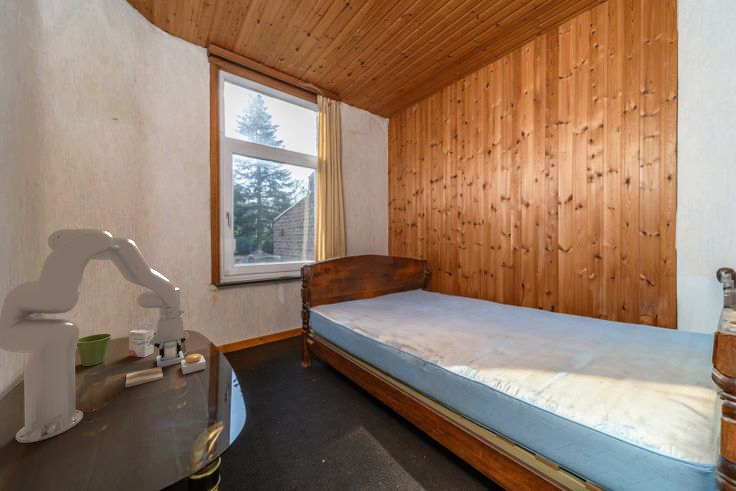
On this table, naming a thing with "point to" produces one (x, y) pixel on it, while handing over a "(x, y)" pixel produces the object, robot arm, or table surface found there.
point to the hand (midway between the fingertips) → (170, 354)
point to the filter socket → (169, 362)
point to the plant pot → (93, 348)
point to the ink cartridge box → (141, 340)
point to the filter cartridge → (170, 350)
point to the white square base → (193, 365)
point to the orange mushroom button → (193, 358)
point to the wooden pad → (143, 376)
